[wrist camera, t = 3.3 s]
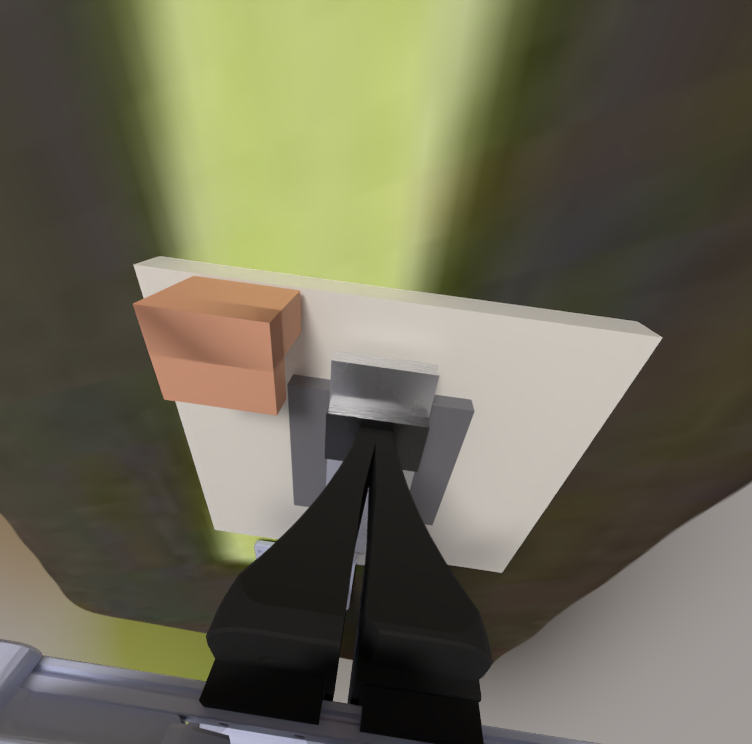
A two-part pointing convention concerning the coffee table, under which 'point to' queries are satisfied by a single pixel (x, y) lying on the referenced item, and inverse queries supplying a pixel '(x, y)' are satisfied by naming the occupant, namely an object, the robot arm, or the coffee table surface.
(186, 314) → the block
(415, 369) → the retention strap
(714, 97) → the coffee table surface
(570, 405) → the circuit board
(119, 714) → the robot arm
